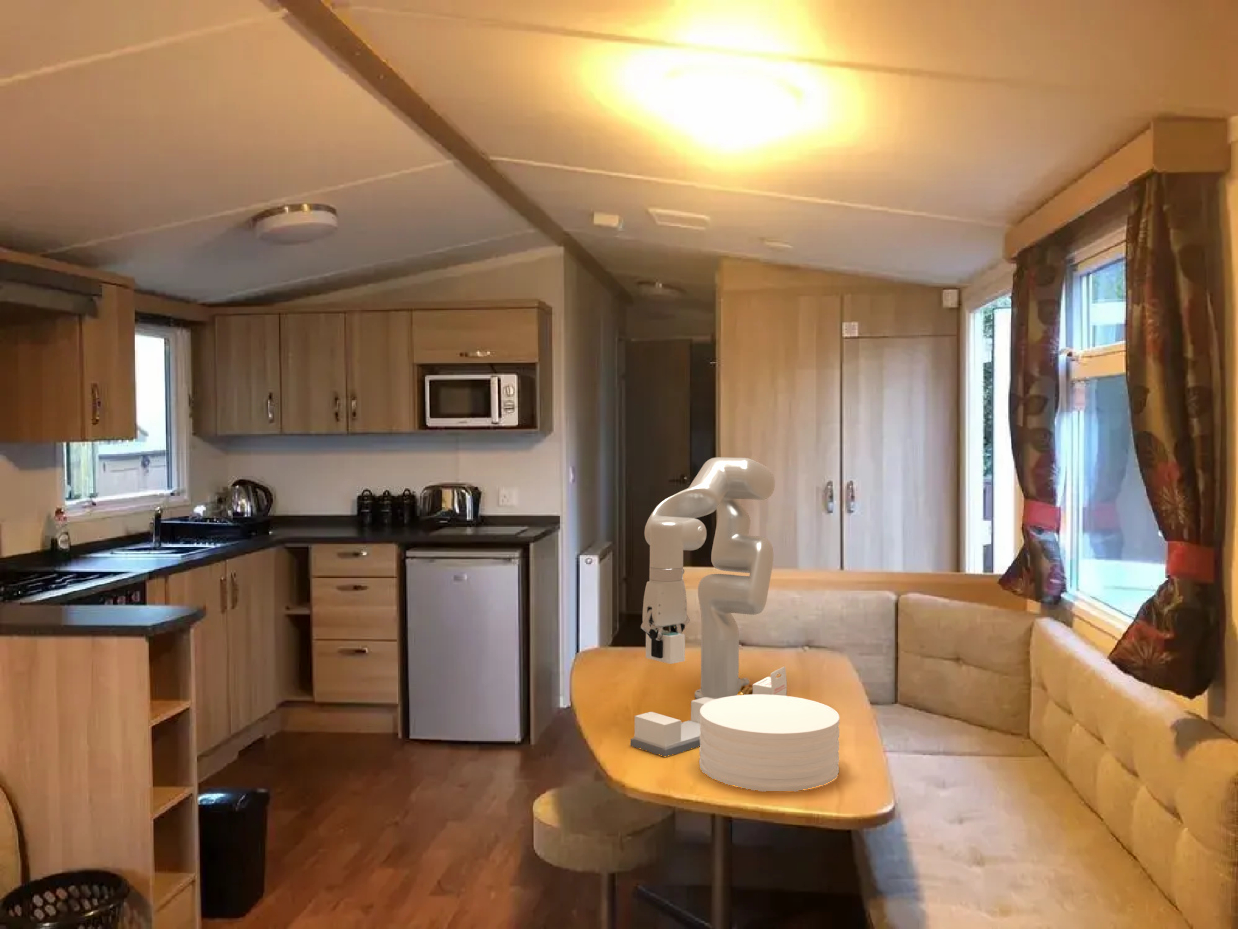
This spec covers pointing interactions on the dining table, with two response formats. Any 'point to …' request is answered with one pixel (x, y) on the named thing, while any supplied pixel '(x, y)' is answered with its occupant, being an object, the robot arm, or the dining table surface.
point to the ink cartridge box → (772, 684)
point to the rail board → (668, 731)
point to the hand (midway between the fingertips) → (665, 654)
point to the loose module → (669, 647)
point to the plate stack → (769, 742)
